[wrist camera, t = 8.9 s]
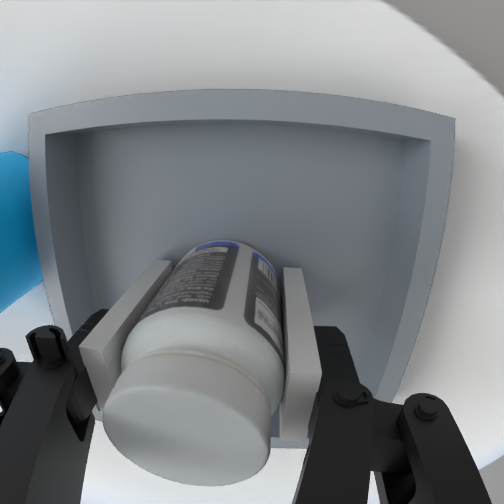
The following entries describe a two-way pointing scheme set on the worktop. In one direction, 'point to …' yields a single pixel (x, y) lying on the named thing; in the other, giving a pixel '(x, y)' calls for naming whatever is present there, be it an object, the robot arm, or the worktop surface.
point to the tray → (249, 204)
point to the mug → (16, 231)
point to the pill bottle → (203, 370)
